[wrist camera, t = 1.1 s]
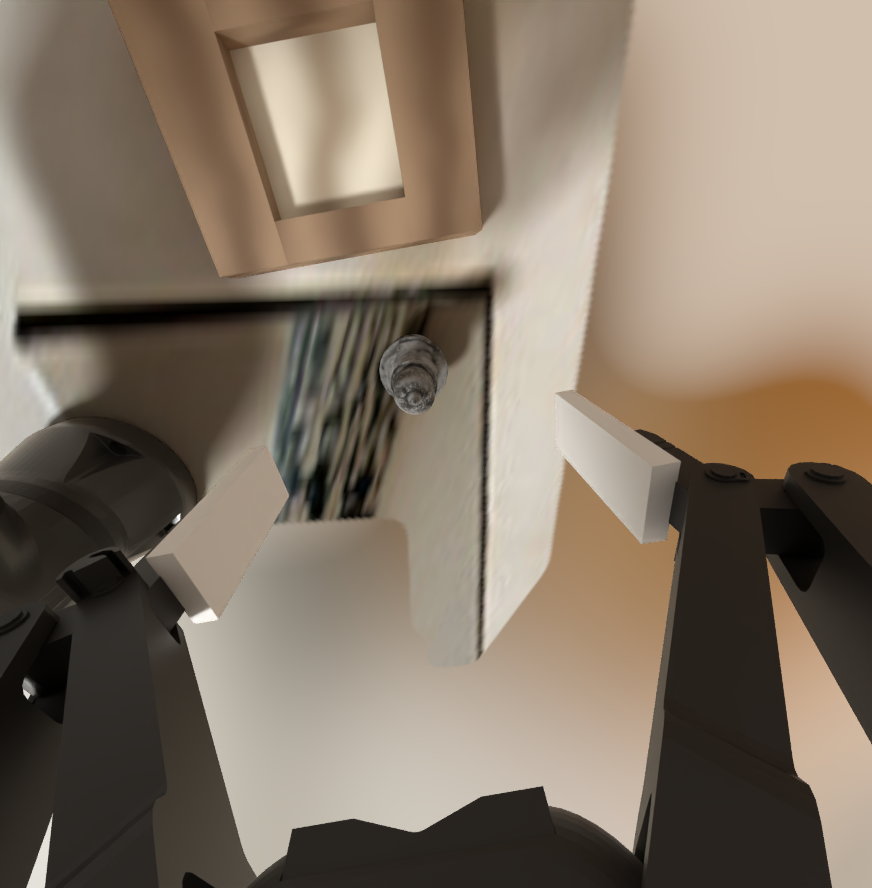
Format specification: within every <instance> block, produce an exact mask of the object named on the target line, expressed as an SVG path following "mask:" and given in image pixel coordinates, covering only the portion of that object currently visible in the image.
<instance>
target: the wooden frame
mask: <svg viewBox="0 0 872 888" xmlns="http://www.w3.org/2000/svg"><path fill="white" fill-rule="evenodd" d="M108 2H109V4H110V7H111V9H112V12H113V14H114V17H115V19H116V22H117V24H118V27H119V29H120V32H121V34H122V37H123V39H124V42H125V44H126V46H127V49H128V51H129V54H130V56H131V59H132V61H133V64H134V66H135V69H136V71H137V74H138V76H139V79H140V81H141V84H142V86H143V89H144V91H145V94H146V96H147V99H148V101H149V103H150V106H151V108H152V111H153V113H154V116H155V118H156V121H157V123H158V126H159V128H160V131H161V133H162V136H163V138H164V141H165V143H166V146H167V148H168V151H169V153H170V156H171V158H172V161H173V163H174V165H175V168H176V170H177V173H178V175H179V178H180V180H181V183H182V185H183V188H184V190H185V193H186V195H187V198H188V200H189V203H190V205H191V208H192V210H193V213H194V215H195V218H196V220H197V222H198V225H199V227H200V230H201V232H202V235H203V237H204V240H205V242H206V245H207V247H208V250H209V252H210V255H211V257H212V260H213V262H214V265H215V267H216V270H217V272H218V275H219V277H228V278H241V277H247V276H252V275H258V274H263V273H269V272H274V271H280V270H285V269H290V268H296V267H301V266H307V265H312V264H318V263H323V262H329V261H334V260H339V259H345V258H350V257H356V256H361V255H367V254H372V253H378V252H383V251H389V250H394V249H399V248H405V247H410V246H416V245H421V244H427V243H432V242H438V241H443V240H448V239H454V238H459V237H465V236H470V235H475V234H477V233H478V232H479V231H480V230H482V219H481V207H480V196H479V184H478V172H477V161H476V149H475V137H474V126H473V114H472V102H471V91H470V79H469V67H468V56H467V44H466V33H465V21H464V9H463V0H108Z"/></svg>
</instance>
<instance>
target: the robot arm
mask: <svg viewBox="0 0 872 888" xmlns="http://www.w3.org/2000/svg"><path fill="white" fill-rule="evenodd" d="M555 417H556V448H557V449H558V450H559V452H560V453H561V454H562V455H563V456H564V457H565V458H566V459H567V461H568V462H569V463H570V464H571V465H572V466H573V467H574V468H575V469H576V471H577V472H578V473H579V474H580V475H581V476H582V477H583V478H584V480H585V481H586V482H587V483H588V484H589V485H590V486H591V487H592V488H593V490H594V491H595V492H596V493H597V494H598V495H599V497H600V498H601V499H602V500H603V501H604V502H605V503H606V504H607V506H608V507H609V508H610V509H611V510H612V511H613V512H614V513H615V515H616V516H617V517H618V518H619V519H620V520H621V521H622V522H623V524H624V525H625V526H626V527H627V528H628V529H629V530H630V532H631V533H632V534H633V535H634V536H635V537H636V538H637V539H638V541H639V542H640V543H641V544H645V543H651V542H656V541H662V540H667V535H668V530H669V524H671V525H672V526H673V527H674V528H675V529H676V530H677V531H679V538H678V543H677V548H676V554H675V558H674V561H675V565H674V572H673V580H672V587H671V594H670V601H669V608H668V615H667V622H666V629H665V637H664V644H663V651H662V658H661V665H660V672H659V679H658V686H657V693H656V701H655V708H654V715H653V722H652V729H651V736H650V743H649V750H648V758H647V765H646V772H645V779H644V786H643V792H642V798H641V803H640V809H639V814H638V821H637V827H636V833H635V840H634V848H633V853H632V852H630V851H629V850H628V849H627V848H626V847H625V846H624V845H622V844H621V843H620V842H619V841H618V840H617V839H615V838H614V837H613V836H611V835H610V834H609V833H607V832H606V831H605V830H603V829H602V828H600V827H599V826H597V825H596V824H594V823H592V822H590V821H589V820H587V819H585V818H583V817H581V816H579V815H577V814H574V813H572V812H569V811H567V810H564V809H561V808H556V807H552V806H548V803H547V800H546V796H545V792H544V789H543V786H542V787H536V788H530V789H525V790H518V791H513V792H506V793H501V794H495V795H489V796H483V797H480V798H478V799H477V800H475V801H473V802H471V803H470V804H468V805H466V806H464V807H463V808H461V809H459V810H458V811H456V812H454V813H452V814H451V815H449V816H447V817H446V818H444V819H442V820H440V821H438V822H437V823H435V824H433V825H432V826H430V827H428V828H427V829H425V830H423V831H420V832H408V831H404V830H400V829H396V828H391V827H387V826H382V825H378V824H374V823H369V822H365V821H361V820H357V819H349V820H343V821H337V822H331V823H325V824H319V825H313V826H308V827H302V828H296V829H292V833H291V838H290V843H289V847H288V852H287V855H285V856H284V857H282V858H281V859H279V860H278V861H277V862H275V863H274V864H273V865H271V866H270V867H268V868H267V869H266V870H265V871H264V872H263V873H262V874H260V875H259V876H258V877H256V875H255V873H254V872H253V870H252V868H251V866H250V865H249V863H248V861H247V859H246V857H245V854H244V852H243V849H242V846H241V842H240V838H239V835H238V831H237V827H236V824H235V820H234V816H233V813H232V809H231V805H230V801H229V798H228V794H227V791H226V787H225V783H224V779H223V776H222V772H221V768H220V765H219V761H218V757H217V754H216V750H215V746H214V743H213V739H212V735H211V732H210V728H209V724H208V721H207V717H206V713H205V709H204V706H203V702H202V698H201V695H200V691H199V687H198V684H197V680H196V677H195V673H194V669H193V665H192V662H191V658H190V655H189V651H188V647H187V643H186V640H185V636H184V632H183V630H182V628H181V627H180V626H179V625H178V623H177V621H178V620H179V618H180V617H181V615H182V614H183V613H184V611H185V612H186V613H187V614H188V616H189V617H190V619H191V620H192V621H193V623H194V624H197V623H202V622H208V621H213V620H219V618H220V616H221V615H222V613H223V611H224V609H225V608H226V606H227V604H228V602H229V600H230V599H231V597H232V595H233V594H234V592H235V590H236V588H237V587H238V585H239V583H240V581H241V579H242V578H243V576H244V574H245V572H246V571H247V569H248V567H249V566H250V564H251V562H252V560H253V558H254V557H255V555H256V553H257V551H258V550H259V548H260V546H261V544H262V543H263V541H264V539H265V537H266V536H267V534H268V532H269V530H270V529H271V527H272V525H273V523H274V522H275V520H276V518H277V516H278V515H279V513H280V511H281V509H282V508H283V506H284V504H285V502H286V501H287V499H288V497H289V494H288V492H287V490H286V487H285V485H284V483H283V481H282V478H281V476H280V474H279V472H278V469H277V467H276V465H275V463H274V460H273V458H272V456H271V453H270V451H269V449H268V447H267V446H264V447H258V448H253V449H250V450H249V451H248V452H247V453H246V454H245V455H244V456H243V457H242V458H241V459H240V460H239V461H238V462H237V463H236V465H235V466H234V467H233V468H232V469H231V470H230V471H229V472H228V473H227V474H226V475H225V476H224V477H223V478H222V479H221V480H220V481H219V482H218V483H217V484H216V485H215V486H214V487H213V488H212V489H211V490H210V491H209V493H208V494H207V495H206V496H205V497H204V498H203V499H202V500H201V501H200V502H199V503H198V504H197V505H196V489H195V485H194V482H193V480H192V477H191V475H190V473H189V472H188V470H187V468H186V467H185V465H184V464H183V463H182V461H181V460H180V459H179V458H178V457H177V456H176V455H175V454H174V453H173V452H172V451H171V450H170V449H169V448H168V447H167V446H166V445H164V444H163V443H162V442H160V441H159V440H157V439H156V438H154V437H153V436H151V435H150V434H148V433H146V432H144V431H142V430H140V429H138V428H136V427H133V426H131V425H128V424H125V423H122V422H119V421H115V420H110V419H105V418H96V417H81V418H73V419H69V420H65V421H62V422H60V423H57V424H55V425H52V426H49V427H47V428H44V429H42V430H40V431H38V432H36V433H34V434H32V435H31V436H29V437H28V438H26V439H25V440H24V441H22V442H21V443H20V444H19V445H18V446H17V447H16V448H15V449H14V450H13V451H12V452H10V453H9V454H8V455H7V456H6V457H5V458H4V459H3V460H2V461H1V462H0V888H26V887H27V884H28V881H29V878H30V876H31V873H32V870H33V867H34V864H35V862H36V859H37V856H38V853H39V850H40V847H41V845H42V842H43V839H44V836H45V833H46V831H47V828H48V825H49V822H50V819H51V817H52V814H53V818H52V827H51V837H50V846H49V855H48V864H47V874H46V883H45V888H832V886H831V880H830V873H829V867H828V861H827V855H826V849H825V843H824V837H823V831H822V825H821V820H820V816H819V811H818V807H817V803H816V799H815V797H814V795H813V793H812V790H811V788H810V786H809V785H808V784H807V783H805V782H804V781H803V780H801V779H800V778H799V777H798V775H797V773H796V771H795V768H794V763H793V758H792V751H791V743H790V735H789V728H788V720H787V712H786V705H785V697H784V690H783V682H782V674H781V667H780V660H779V652H778V644H777V637H776V629H775V621H774V614H773V606H772V599H771V591H770V583H769V576H768V569H767V561H766V557H767V559H768V560H769V562H770V564H771V566H772V568H773V569H774V571H775V573H776V575H777V576H778V578H779V580H780V582H781V584H782V585H783V587H784V589H785V591H786V592H787V594H788V596H789V598H790V600H791V601H792V603H793V605H794V607H795V608H796V610H797V612H798V614H799V616H800V617H801V619H802V621H803V623H804V625H805V626H806V628H807V630H808V631H809V633H810V635H811V637H812V639H813V641H814V642H815V644H816V646H817V648H818V649H819V651H820V653H821V655H822V656H823V658H824V660H825V662H826V664H827V665H828V667H829V669H830V671H831V673H832V674H833V676H834V678H835V680H836V681H837V683H838V685H839V687H840V689H841V690H842V692H843V694H844V695H845V697H846V699H847V701H848V703H849V705H850V706H851V708H852V710H853V712H854V713H855V715H856V717H857V719H858V721H859V722H860V724H861V726H862V728H863V729H864V731H865V733H866V735H867V737H868V738H869V740H870V742H871V744H872V485H871V484H870V483H869V482H868V481H867V480H866V479H864V478H863V477H862V476H860V475H858V474H856V473H855V472H853V471H850V470H847V469H845V468H842V467H840V466H837V465H831V464H827V463H814V462H804V463H797V464H793V465H791V466H790V467H789V468H788V470H787V473H786V476H785V479H755V478H754V476H753V475H752V474H750V473H749V472H747V471H745V470H743V469H741V468H738V467H735V466H731V465H726V464H720V463H706V464H703V463H702V462H700V461H698V460H697V459H695V458H693V457H692V456H690V455H688V454H687V453H685V452H684V451H682V450H680V449H679V448H675V446H674V445H672V444H671V443H669V442H666V440H664V439H663V438H661V437H659V436H658V435H656V434H653V433H650V432H647V431H644V430H632V429H631V428H629V427H628V426H626V425H625V424H623V423H622V422H620V421H619V420H617V419H616V418H614V417H613V416H611V415H610V414H608V413H607V412H605V411H604V410H602V409H600V408H599V407H598V406H596V405H595V404H593V403H591V402H590V401H588V400H587V399H585V398H584V397H582V396H581V395H579V394H578V393H576V392H575V391H573V390H569V391H563V392H558V393H555ZM145 554H146V555H145ZM143 555H145V556H144V557H143V558H142V559H141V560H140V561H139V562H138V563H137V564H136V565H135V566H134V567H133V566H132V564H131V563H130V562H132V561H134V560H135V559H137V558H139V557H141V556H143ZM23 689H24V690H26V691H27V692H28V693H30V694H31V695H30V697H29V699H28V700H27V698H26V697H25V695H24V694H23Z"/></svg>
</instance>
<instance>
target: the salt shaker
mask: <svg viewBox="0 0 872 888" xmlns="http://www.w3.org/2000/svg"><path fill="white" fill-rule="evenodd" d="M447 375H448V365H447V362H446V358H445V356H444V354H443V353H442V351H441V349H440V348H439V347H438V346H437V345H436V344H434V343H433V342H432V341H431V340H430V339H428V338H426V337H424V336H422V335H417V334H410V335H405V336H402V337H400V338H399V339H397V340H396V341H395V342H394V343H392V344H391V345H390V346H389V347H388V348H387V350H386V351H385V352H384V354H383V357H382V359H381V363H380V377H381V380H382V383H383V385H384V387H385V389H386V390H387V391H388V393H389V394H390V395H392V396H393V397H394V399H395V401H396V404H397V405H398V406H399V408H400V409H402V410H403V411H404V412H407V413H409V414H421V413H424V412H425V411H427V410H428V409H429V408H430V407H431V406H432V404H433V402H434V399H435V397H436V396H437V395H438V394H439V393H440V391H441V390H442V389H443V387H444V385H445V383H446V380H447Z"/></svg>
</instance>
